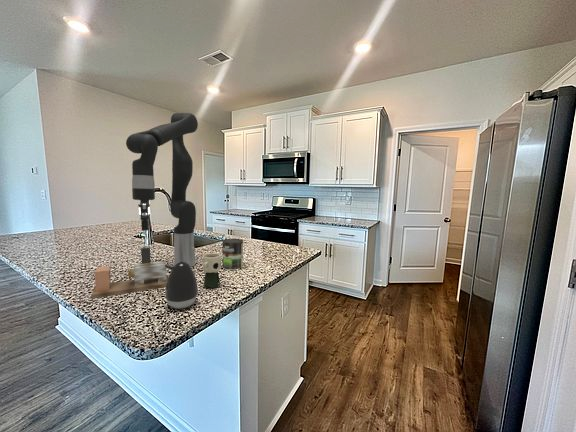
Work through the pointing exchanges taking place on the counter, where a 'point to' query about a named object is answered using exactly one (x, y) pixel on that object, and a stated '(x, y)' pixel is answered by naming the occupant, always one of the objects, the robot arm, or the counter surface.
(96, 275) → the socket block
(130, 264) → the counter surface
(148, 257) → the gold and grey t-piece
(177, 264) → the dark grey egg-shaped piece
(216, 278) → the character mug
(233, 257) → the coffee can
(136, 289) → the sleeve stand
